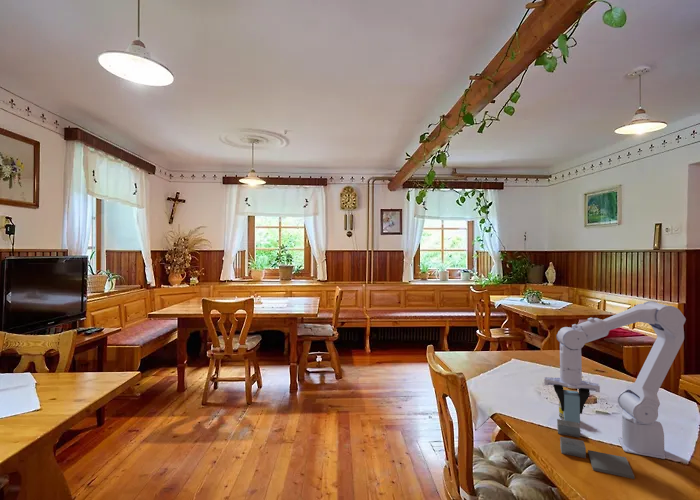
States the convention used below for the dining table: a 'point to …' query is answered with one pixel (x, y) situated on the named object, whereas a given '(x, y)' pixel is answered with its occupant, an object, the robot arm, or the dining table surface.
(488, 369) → the dining table surface
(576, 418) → the peg
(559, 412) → the supplement bottle
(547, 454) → the dining table surface
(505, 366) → the dining table surface
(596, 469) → the pad
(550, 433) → the dining table surface
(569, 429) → the vise
